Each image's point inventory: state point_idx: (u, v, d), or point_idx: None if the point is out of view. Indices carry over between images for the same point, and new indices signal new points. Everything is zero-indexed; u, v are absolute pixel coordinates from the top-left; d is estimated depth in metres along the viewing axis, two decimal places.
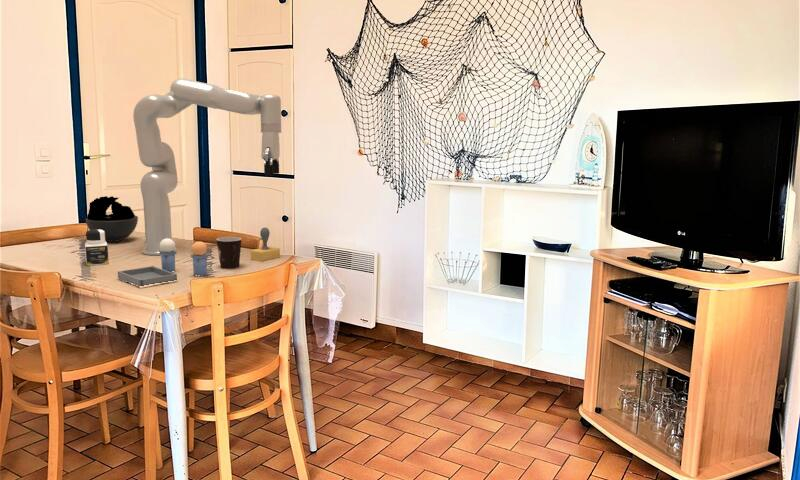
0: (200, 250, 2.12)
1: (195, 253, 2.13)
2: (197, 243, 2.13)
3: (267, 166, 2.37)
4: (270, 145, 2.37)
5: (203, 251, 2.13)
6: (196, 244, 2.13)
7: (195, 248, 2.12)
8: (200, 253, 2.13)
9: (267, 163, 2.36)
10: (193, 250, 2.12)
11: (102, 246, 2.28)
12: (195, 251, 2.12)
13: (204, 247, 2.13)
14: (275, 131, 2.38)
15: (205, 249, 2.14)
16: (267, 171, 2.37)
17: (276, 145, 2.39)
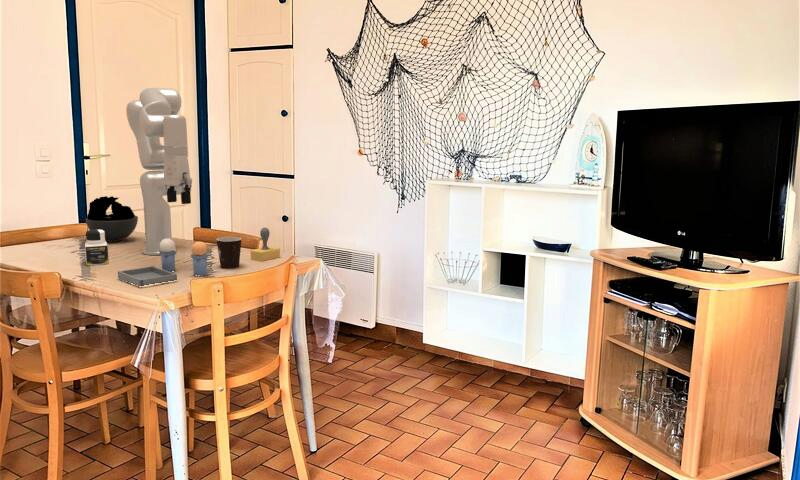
0: (200, 250, 2.12)
1: (195, 253, 2.13)
2: (197, 243, 2.13)
3: (186, 193, 2.15)
4: (186, 170, 2.15)
5: (203, 251, 2.13)
6: (196, 244, 2.13)
7: (195, 248, 2.12)
8: (200, 253, 2.13)
9: (187, 190, 2.14)
10: (193, 250, 2.12)
11: (102, 246, 2.28)
12: (195, 251, 2.12)
13: (204, 247, 2.13)
14: (187, 154, 2.17)
15: (205, 249, 2.14)
16: (186, 199, 2.15)
17: None
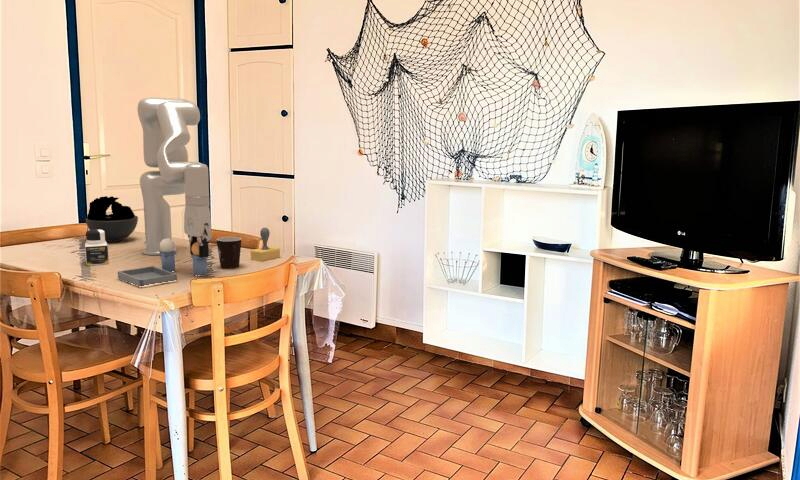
0: None
1: (195, 253, 2.13)
2: (197, 243, 2.13)
3: (204, 247, 2.12)
4: (208, 220, 2.10)
5: None
6: (196, 244, 2.13)
7: (195, 248, 2.12)
8: None
9: (206, 243, 2.11)
10: (193, 250, 2.12)
11: (102, 246, 2.28)
12: (195, 251, 2.12)
13: None
14: (208, 204, 2.11)
15: None
16: (204, 252, 2.12)
17: None
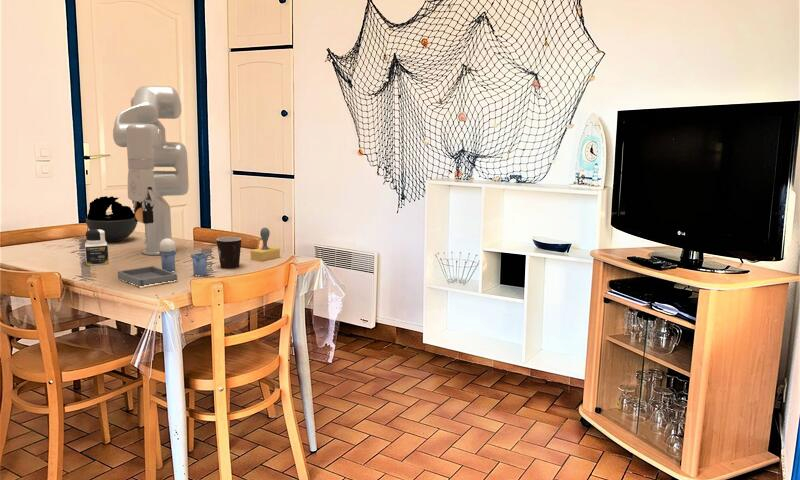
0: None
1: (139, 219, 2.02)
2: (141, 209, 2.02)
3: (148, 212, 2.01)
4: (152, 184, 1.99)
5: None
6: (140, 210, 2.02)
7: (138, 214, 2.01)
8: None
9: (149, 209, 2.00)
10: (137, 216, 2.02)
11: (102, 246, 2.28)
12: (138, 217, 2.02)
13: None
14: (152, 167, 2.01)
15: None
16: (148, 218, 2.01)
17: None
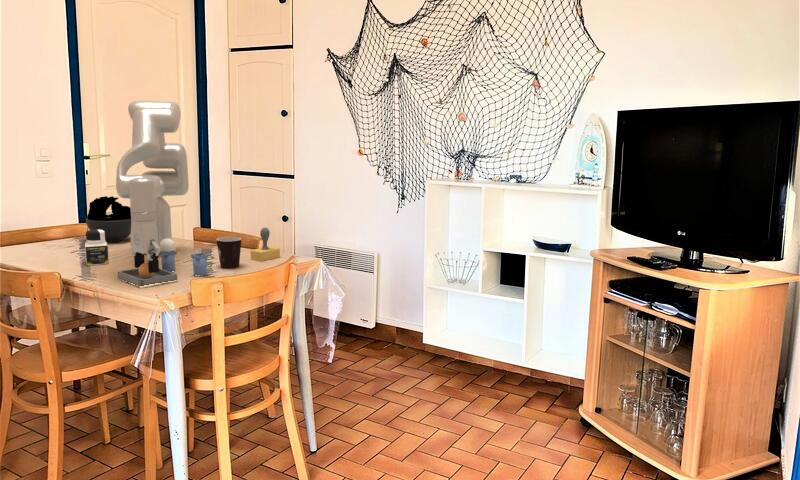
0: (147, 272, 2.05)
1: (142, 275, 2.05)
2: (144, 264, 2.06)
3: (154, 262, 2.03)
4: (154, 237, 2.02)
5: (150, 273, 2.06)
6: (143, 265, 2.05)
7: (142, 270, 2.05)
8: (147, 275, 2.05)
9: (155, 258, 2.02)
10: (140, 272, 2.05)
11: (102, 246, 2.28)
12: (142, 273, 2.05)
13: None
14: (155, 220, 2.04)
15: None
16: (154, 267, 2.03)
17: None
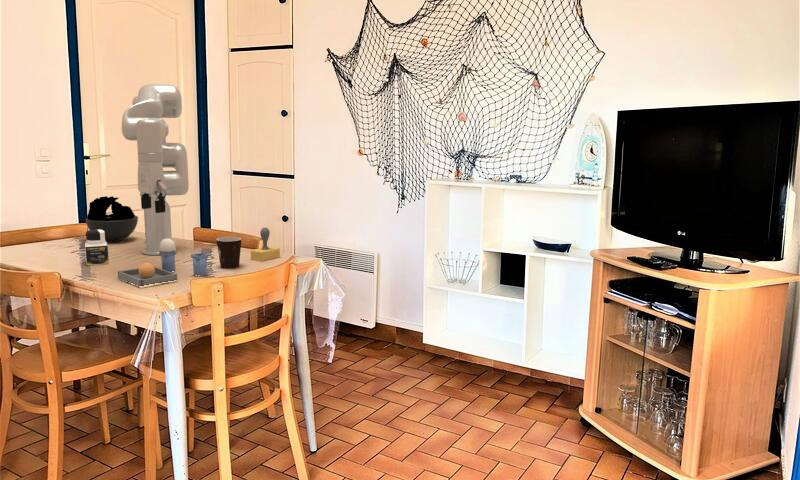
0: (147, 272, 2.05)
1: (142, 275, 2.05)
2: (144, 265, 2.06)
3: (160, 202, 2.06)
4: (161, 177, 2.06)
5: (150, 273, 2.06)
6: (143, 266, 2.05)
7: (142, 270, 2.05)
8: (147, 275, 2.05)
9: (161, 198, 2.06)
10: (140, 272, 2.05)
11: (102, 246, 2.28)
12: (142, 273, 2.05)
13: (151, 269, 2.06)
14: (161, 161, 2.07)
15: (153, 271, 2.06)
16: (160, 207, 2.07)
17: None
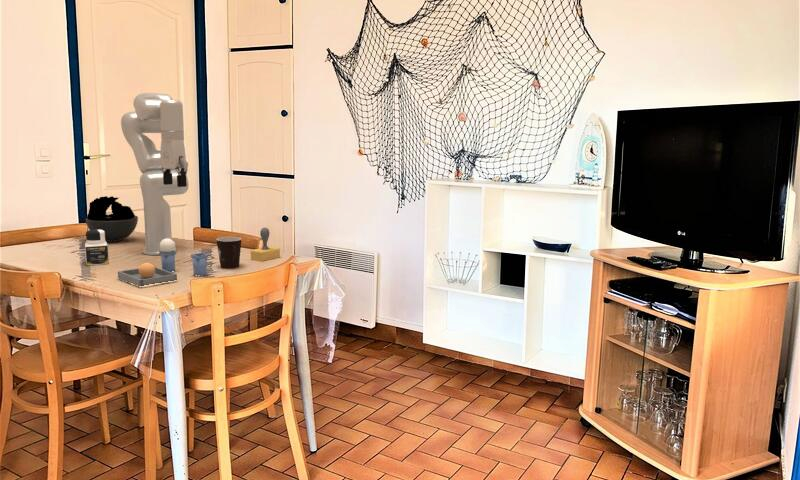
0: (147, 272, 2.05)
1: (142, 275, 2.05)
2: (144, 265, 2.05)
3: (182, 176, 2.22)
4: (182, 154, 2.22)
5: (150, 273, 2.06)
6: (143, 266, 2.05)
7: (142, 270, 2.05)
8: (147, 275, 2.05)
9: (183, 173, 2.21)
10: (140, 272, 2.05)
11: (102, 246, 2.28)
12: (142, 273, 2.05)
13: (152, 269, 2.06)
14: (183, 139, 2.23)
15: (153, 271, 2.06)
16: (182, 182, 2.22)
17: None
